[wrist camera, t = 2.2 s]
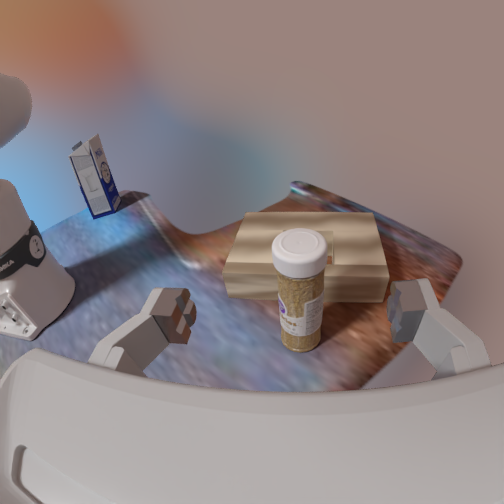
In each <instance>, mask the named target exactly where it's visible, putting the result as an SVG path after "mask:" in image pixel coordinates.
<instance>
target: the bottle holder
mask: <svg viewBox="0 0 504 504" xmlns="http://www.w3.org/2000/svg"><path fill="white" fill-rule="evenodd" d="M295 228H306V229H311V230H314V231H316V232H318V233H320V234H321V235H322V236H323V237H324V238H325V240H326V242H327V256H332V264H326V266H325V272H324V300H323V302H383V299H384V296H385V292H386V288H387V285H388V281H389V272H388V268H387V264H386V259H385V255H384V251H383V248H382V244H381V240H380V236H379V233H378V229H377V225H376V222H375V219H374V215H373V213H357V212H246V213H245V216H244V218H243V221H242V223H241V226H240V228H239V231H238V233H237V236H236V238H235V241H234V243H233V246H232V248H231V251H230V253H229V256H228V258H227V261H226V263H225V266H224V269H223V271H222V275H223V279H224V282H225V286H226V289H227V293H228V296H229V298H244V299H262V300H279V299H278V292H279V291H278V282H277V272H276V269H275V267H274V264H273V258H272V243H273V241H274V239H275V238H276V237H277V236H278V235H279V234H281V233H282V232H284V231H287V230H290V229H295Z"/></svg>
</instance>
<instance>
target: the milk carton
mask: <svg viewBox="0 0 504 504" xmlns="http://www.w3.org/2000/svg"><path fill="white" fill-rule="evenodd" d="M72 149H73V151H74V152H73V153H72V154H71V155H70V156H69V160H70V163H71V165H72V168H73V171H74V173H75V176H76V179H77V181H78V184H79V186H80V189H81V191H82V194H83V196H84V198H85V201H86V203H87V206H88V208H89V210H90V213H91V215H92V217H93V219H96V218H100V217H103V216H106V215H109V214H113V213H115V212H116V210H117V208H118V206H119V204H120V202H121V199H120V196H119V194H118V191H117V189H116V186H115V183H114V180H113V177H112V175H111V172H110V169H109V166H108V163H107V160H106V157H105V154H104V151H103V148H102V144H101V141H100V138H99V135H98V134H97V135H95V136H94V137H92V138H90V139H89V140H88V141H86V142H85V143H84V144H82V142H81V141H80V142H79V143H77V144H76V145H75V146H74V147H73V148H72Z"/></svg>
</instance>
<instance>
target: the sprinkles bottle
mask: <svg viewBox="0 0 504 504" xmlns="http://www.w3.org/2000/svg"><path fill="white" fill-rule="evenodd" d="M272 258H273V264H274V267H275V269H276V272H277V282H278V291H279V292H278V299H279V310H280V322H281V328H282V332H281V339H282V342H283V344H284V345H285V346H286V348H288V349H290V350H291V351H294V352H306V351H310V350H312V349H313V348H314V347H316V346H317V345H318V343H319V341H320V338H321V332H320V327H321V322H322V313H323V300H324V272H325V266H326V263H327V242H326V240H325V238H324V237H323V236H322V235H321V234H320V233H318V232H316V231H314V230H311V229H306V228H295V229H290V230H287V231H284V232H282V233H281V234H279V235H278V236H277V237H276V238H275V239H274V241H273V243H272Z"/></svg>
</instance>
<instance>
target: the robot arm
mask: <svg viewBox="0 0 504 504" xmlns="http://www.w3.org/2000/svg"><path fill="white" fill-rule="evenodd" d="M31 109H32V99H31V94H30V91H29V89H28V87H27V86H26V84H25V83H24V82H23V81H22V80H20V79H18V78H16V77H11V76H7V75H4V74H1V73H0V148H2V147H3V146H5V145H6V144H7V143H8V142H9V141H11V140H12V139H13V138H14V137H15V136H16V135H18V134H19V133H20V132H21V131H22V130H23V129H25V128H26V126H27V124H28V122H29V119H30V115H31ZM74 290H75V281H74V279H73V277H72V276H70V275H69V274H68V273H67V272H66V271H65V269H64V267H63V266H62V265H60V264H59V263H58V262H57V260H56V259H55V258H54V256H53V255H52V254H51V252H50V251H49V250H48V248H47V247H46V245H45V244H44V242H43V240H42V236H41V234H40V232H39V231H38V228H37V226H36V225H35V223H34V222H33V221H32V220H30V218H29V216H28V215H27V212H26V210H25V208H24V206H23V204H22V202H21V199H20V197H19V195H18V193H17V190H16V188H15V186H13V184H12V183H11V182H9V181H8V180H4V179H0V334H3V335H7V336H11V337H16V338H20V339H24V340H29V341H31V340H33V339H34V338H35V337H36V336H37V335H38V334H39V333H40V332H41V330H42V329H43V328H44V327H46V326H47V325H48V324H50V323H51V322H52V321H54V320H55V319H56V318H57V317H58V316H59V315H60V314H61V313H62V312H63V311H64V309H65V308H66V307H67V305H68V304H69V302H70V300H71V298H72V296H73V293H74ZM390 291H391V295H390V296H389V297H388V300H387V316H388V320H389V321H390V322H391V323H392V325H391V328H390V330H391V335H392V340H393V343H397V342H409V341H413V343H414V344H415V346H416V347H417V348H418V349H419V350H420V351H421V353H422V354H423V355H424V356H425V357H426V359H427V360H428V361H429V362H430V363H431V365H433V367H434V368H435V369H436V371H437V372H436V374H435V375H434V377H433V378H432V380H431V381H426V382H420V383H413V384H407V385H400V386H392V387H384V388H374V389H363V390H349V391H329V392H269V391H249V390H235V389H223V388H213V387H204V386H196V385H189V384H182V383H175V382H169V381H163V380H158V379H152V378H148V377H147V376H146V375H145V374H144V372H143V370H144V369H145V368H146V367H147V366H148V365H149V364H150V363H151V362H152V361H153V360H154V359H155V358H156V357H157V356H158V355H159V354H160V353H161V352H162V351H163V350H164V349H165V348H166V347H167V346H168V345H169V343H176V344H187V342H188V339H189V337H190V334H191V330H190V327H191V326H192V325H193V324H194V323H195V320H196V312H197V311H196V306H195V304H194V302H193V301H191V300H190V299H189V298H190V293H189V291H188V289H186V288H154V289H153V290H152V292H151V293H150V295H149V297H148V299H147V301H146V303H145V304H144V306H143V308H142V310H141V312H140V314H136V315H135V316H133V317H132V318H131V319H129V320H128V321H127V322H125V323H124V324H122V325H121V326H120V327H118V328H117V329H116V330H114V331H113V332H112V333H110V334H109V335H107V336H106V337H105V338H103V339H102V340H101V341H99V342H98V344H97V346H96V348H95V349H94V351H93V353H92V355H91V357H90V359H89V361H88V363H85V362H81V361H78V360H74V359H71V358H68V357H65V356H62V355H59V354H56V353H53V352H50V351H47V350H45V349H42V348H34V349H32V350H31V351H29V352H27V353H26V354H24V355H23V356H21V357H20V358H19V359H17V360H16V361H15V362H13V363H12V365H11V366H10V367H9V368H8V370H7V371H6V372H5V374H4V375H3V377H2V379H1V380H0V504H504V363H501V364H498V365H494V366H492V365H491V362H490V359H489V356H488V353H487V351H486V348H485V345H484V342H483V340H482V339H481V338H479V337H478V336H477V335H476V334H475V333H473V332H472V331H471V330H470V329H469V328H467V327H466V326H465V325H464V324H463V323H461V322H460V321H459V320H458V319H456V318H455V317H454V316H453V315H452V314H451V313H449V312H448V311H447V310H446V309H444V308H440V305H439V303H438V300H437V298H436V296H435V293H434V291H433V288H432V286H431V284H430V281H429V280H428V279H427V278H424V279H416V280H403V281H392V283H391V286H390Z"/></svg>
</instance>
